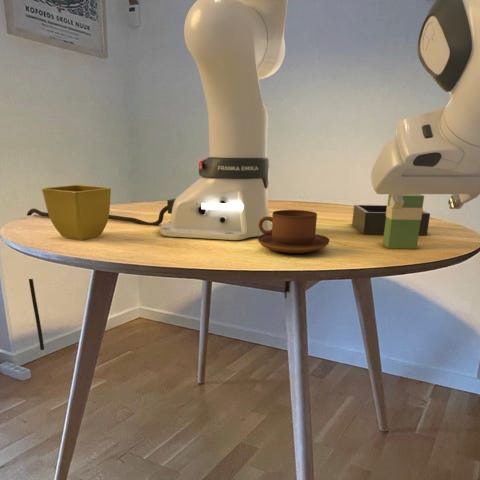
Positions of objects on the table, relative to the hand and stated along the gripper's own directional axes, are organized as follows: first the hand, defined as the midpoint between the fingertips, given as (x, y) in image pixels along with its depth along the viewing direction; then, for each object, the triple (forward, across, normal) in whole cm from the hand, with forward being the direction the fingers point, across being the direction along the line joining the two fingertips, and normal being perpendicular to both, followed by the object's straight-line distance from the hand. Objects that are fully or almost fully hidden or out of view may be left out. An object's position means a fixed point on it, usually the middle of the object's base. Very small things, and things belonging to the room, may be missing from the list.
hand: (424, 205), depth 73 cm
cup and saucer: (+10, +20, +2) cm, 22 cm away
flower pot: (+18, +58, -6) cm, 60 cm away
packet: (+11, 0, 0) cm, 11 cm away
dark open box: (+23, -4, -11) cm, 26 cm away
